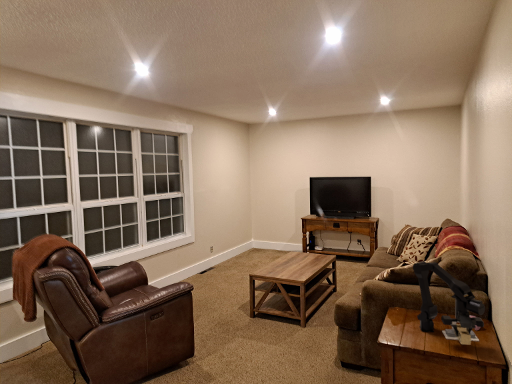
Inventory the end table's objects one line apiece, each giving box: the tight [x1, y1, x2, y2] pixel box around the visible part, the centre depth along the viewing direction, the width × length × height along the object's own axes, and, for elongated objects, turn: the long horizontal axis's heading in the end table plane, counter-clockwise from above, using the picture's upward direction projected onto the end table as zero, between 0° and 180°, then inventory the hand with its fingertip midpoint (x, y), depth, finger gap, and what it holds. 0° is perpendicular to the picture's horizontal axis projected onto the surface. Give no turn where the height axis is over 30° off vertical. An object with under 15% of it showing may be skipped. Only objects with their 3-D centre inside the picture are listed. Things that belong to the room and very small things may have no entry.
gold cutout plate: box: [454, 323, 472, 346], centre depth 182 cm, size 12×4×5 cm, turn 165°
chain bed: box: [441, 326, 480, 342], centre depth 192 cm, size 16×9×6 cm, turn 75°
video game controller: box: [469, 314, 481, 331], centre depth 202 cm, size 10×5×7 cm, turn 17°
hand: (462, 336), depth 182 cm, fingers closed on gold cutout plate, 4 cm apart
